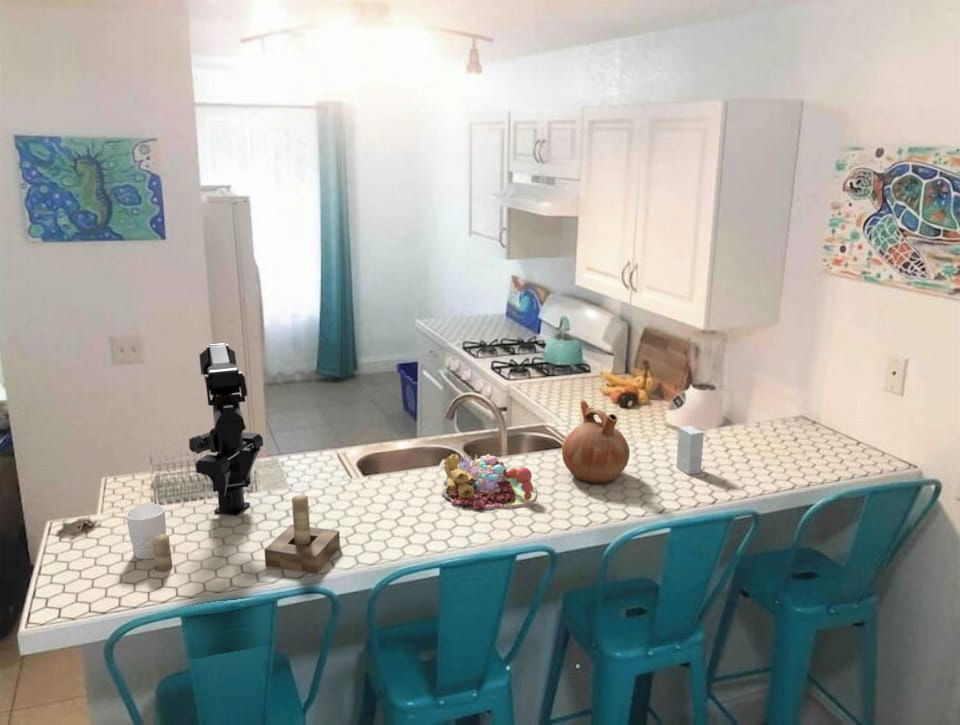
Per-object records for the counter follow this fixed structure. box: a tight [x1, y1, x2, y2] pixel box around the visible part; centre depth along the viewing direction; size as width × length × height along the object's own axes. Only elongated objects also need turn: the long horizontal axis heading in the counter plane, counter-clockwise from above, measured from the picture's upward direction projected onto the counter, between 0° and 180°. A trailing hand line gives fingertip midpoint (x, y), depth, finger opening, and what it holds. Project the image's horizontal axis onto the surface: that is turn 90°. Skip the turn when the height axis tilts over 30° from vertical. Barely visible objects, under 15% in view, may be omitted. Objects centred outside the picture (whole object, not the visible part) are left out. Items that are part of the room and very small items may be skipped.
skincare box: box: [675, 425, 705, 475], centre depth 222 cm, size 6×4×12 cm
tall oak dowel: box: [291, 494, 311, 547], centre depth 175 cm, size 3×3×14 cm
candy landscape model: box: [441, 453, 537, 510], centre depth 210 cm, size 25×24×9 cm
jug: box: [561, 399, 631, 486], centre depth 217 cm, size 18×18×20 cm
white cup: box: [125, 503, 167, 560], centre depth 178 cm, size 8×8×10 cm
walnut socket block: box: [264, 524, 341, 574], centre depth 177 cm, size 12×12×4 cm
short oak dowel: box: [152, 534, 173, 573], centre depth 172 cm, size 3×3×7 cm
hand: (233, 488), depth 181 cm, fingers open, 9 cm apart
